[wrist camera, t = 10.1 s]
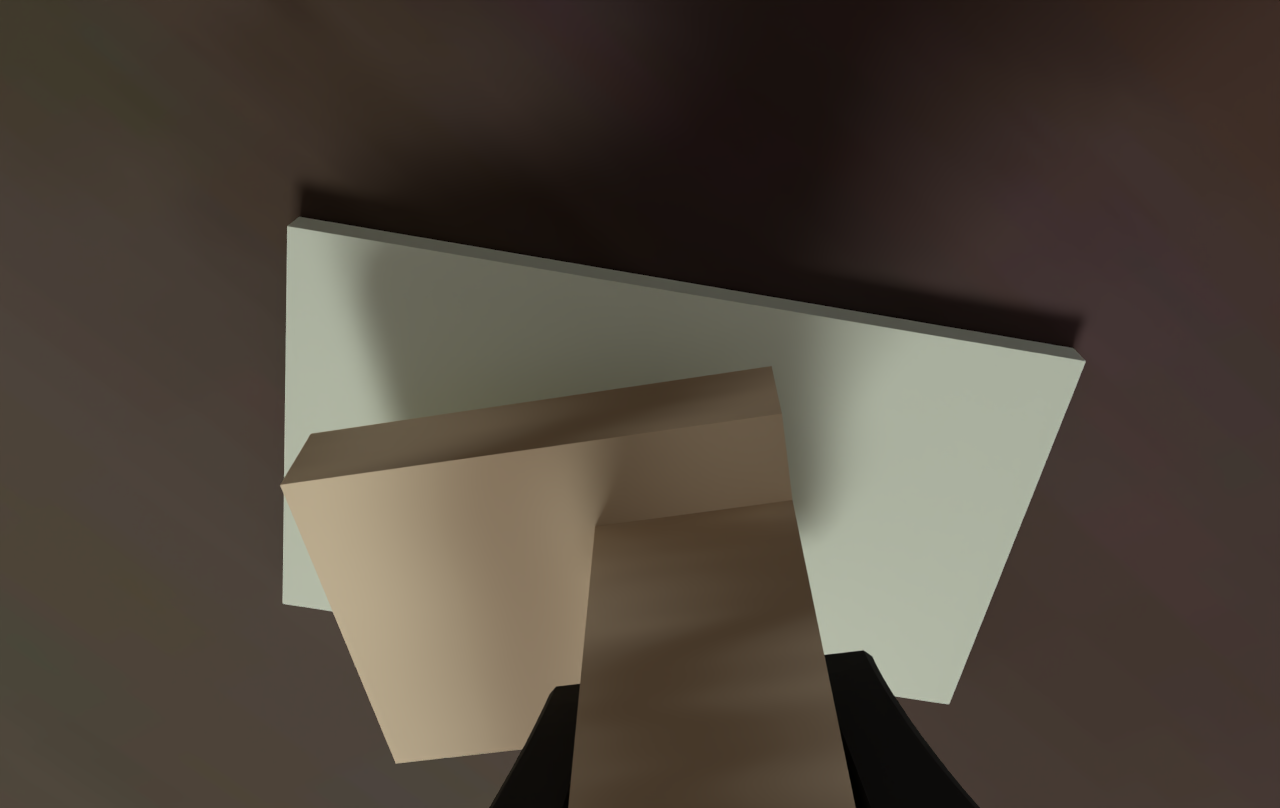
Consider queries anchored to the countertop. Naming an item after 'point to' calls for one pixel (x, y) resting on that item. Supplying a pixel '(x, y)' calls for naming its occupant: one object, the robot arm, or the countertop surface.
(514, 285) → the board
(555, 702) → the robot arm
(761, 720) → the wooden post on base
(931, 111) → the countertop surface
